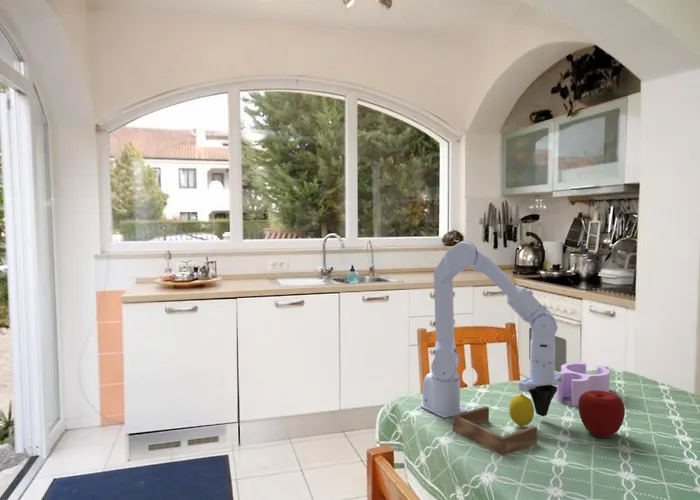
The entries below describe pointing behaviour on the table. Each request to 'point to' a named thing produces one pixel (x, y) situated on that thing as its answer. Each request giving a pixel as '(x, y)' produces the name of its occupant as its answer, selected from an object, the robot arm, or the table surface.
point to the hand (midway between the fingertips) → (541, 414)
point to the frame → (501, 444)
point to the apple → (601, 412)
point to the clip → (581, 381)
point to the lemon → (521, 410)
